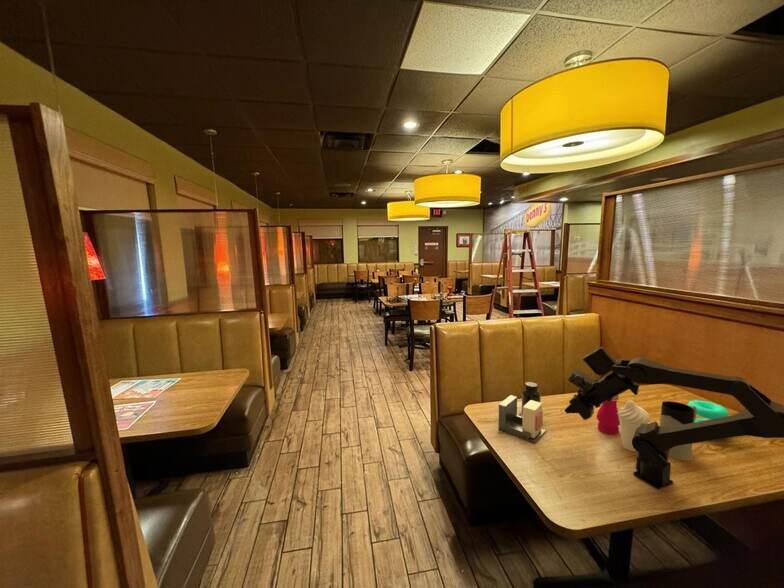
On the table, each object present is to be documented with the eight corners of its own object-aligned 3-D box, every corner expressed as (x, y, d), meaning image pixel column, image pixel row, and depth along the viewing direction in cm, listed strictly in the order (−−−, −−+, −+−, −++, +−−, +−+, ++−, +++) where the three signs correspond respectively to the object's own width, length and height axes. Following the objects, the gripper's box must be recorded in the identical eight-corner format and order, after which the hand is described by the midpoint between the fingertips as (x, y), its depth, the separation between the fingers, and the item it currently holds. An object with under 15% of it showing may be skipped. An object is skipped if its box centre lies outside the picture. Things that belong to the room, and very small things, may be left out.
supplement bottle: (521, 407, 130) (521, 380, 129) (539, 410, 128) (540, 381, 127) (521, 415, 124) (522, 386, 123) (540, 418, 122) (541, 388, 120)
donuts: (734, 407, 106) (721, 415, 101) (731, 435, 107) (719, 444, 102) (695, 396, 115) (682, 403, 110) (692, 422, 116) (680, 429, 111)
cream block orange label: (543, 430, 111) (544, 403, 110) (535, 439, 106) (536, 411, 105) (530, 425, 114) (530, 399, 113) (522, 433, 110) (522, 406, 108)
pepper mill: (624, 436, 108) (628, 381, 106) (601, 435, 109) (604, 380, 107) (614, 425, 115) (617, 373, 113) (592, 424, 116) (595, 372, 114)
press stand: (545, 432, 112) (546, 405, 111) (535, 444, 105) (536, 416, 104) (510, 419, 121) (510, 395, 120) (498, 430, 114) (498, 404, 113)
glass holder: (649, 447, 102) (652, 403, 100) (676, 437, 107) (679, 395, 105) (682, 463, 94) (686, 416, 92) (709, 451, 99) (714, 406, 97)
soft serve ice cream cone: (645, 444, 103) (648, 398, 101) (650, 459, 96) (653, 409, 94) (614, 437, 108) (616, 393, 106) (616, 451, 100) (619, 403, 99)
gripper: (594, 357, 103) (557, 380, 112) (578, 373, 90) (537, 398, 99) (622, 386, 98) (581, 408, 107) (610, 407, 85) (564, 431, 94)
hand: (566, 410), depth 102 cm, fingers closed
